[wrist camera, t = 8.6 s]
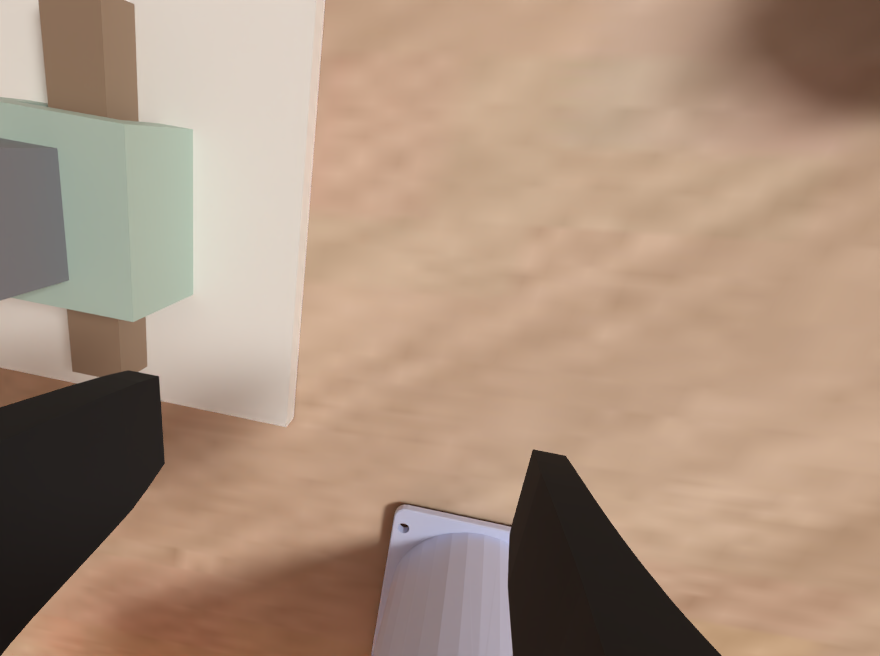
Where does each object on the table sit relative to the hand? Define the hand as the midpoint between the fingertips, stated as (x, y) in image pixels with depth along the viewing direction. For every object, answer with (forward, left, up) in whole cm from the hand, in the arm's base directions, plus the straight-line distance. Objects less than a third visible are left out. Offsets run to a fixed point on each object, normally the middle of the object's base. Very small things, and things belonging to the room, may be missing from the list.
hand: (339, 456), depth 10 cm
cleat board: (+2, +12, -10) cm, 16 cm away
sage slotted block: (+2, +12, -10) cm, 15 cm away
